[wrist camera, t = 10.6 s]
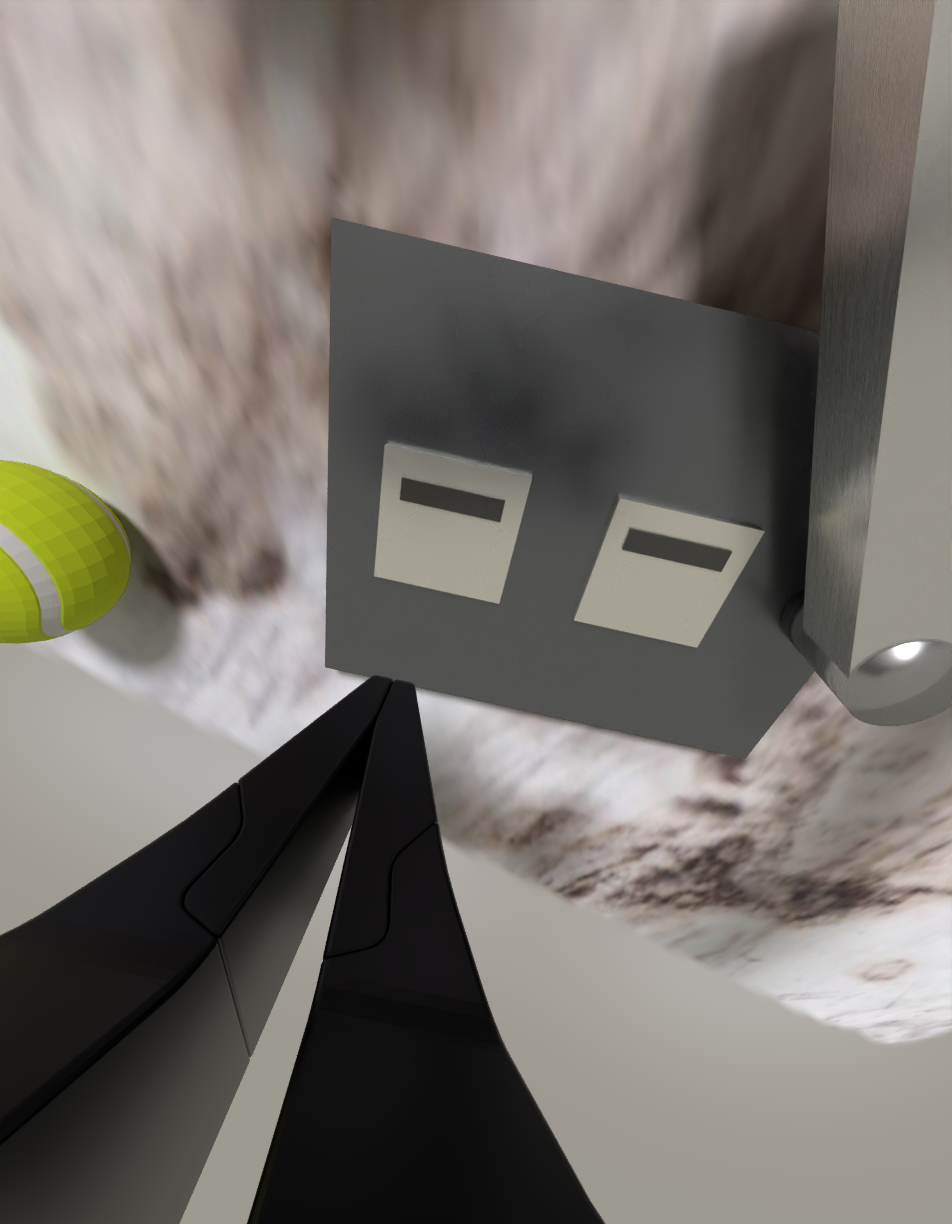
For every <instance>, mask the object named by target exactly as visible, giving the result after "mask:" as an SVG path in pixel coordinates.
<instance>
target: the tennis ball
mask: <svg viewBox="0 0 952 1224" xmlns="http://www.w3.org/2000/svg"><path fill="white" fill-rule="evenodd" d="M130 565H131V549H130V543H129V540H128V536H127V533H126V531H125V530H124V528H123V526H122V524H121V522H120V521H119V519H118V518H117V516H116V515H115V514H114V512H113V511H112V510H111V509H110V508H109V507H108V506H107V504H106V503H105V502H104V501H102V500H101V499H100V498H99V497H98V496H97V495H95V494H94V493H93V492H92V491H90V490H89V489H87V488H86V487H84V486H83V485H81V484H79V483H77V482H75V481H73V480H71V479H69V478H67V477H65V476H63V475H60V474H56V473H53V472H51V471H49V470H46V469H43V468H40V467H37V466H34V465H30V464H26V463H20V462H13V461H4V460H0V643H29V642H37V641H45V640H50V639H54V638H57V637H61V636H64V635H66V634H69V633H71V632H73V631H75V630H78V629H81V628H83V627H86V626H88V625H89V624H91V623H93V622H95V621H96V620H98V619H99V618H101V617H102V616H103V615H104V614H106V613H107V612H108V611H109V610H110V609H111V608H112V607H113V606H114V605H115V603H116V602H117V601H118V600H119V598H120V597H121V595H122V594H123V592H124V590H125V588H126V586H127V583H128V580H129V575H130Z"/></svg>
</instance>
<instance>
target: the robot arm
mask: <svg viewBox="0 0 952 1224" xmlns="http://www.w3.org/2000/svg"><path fill="white" fill-rule="evenodd" d="M238 783H239V784H238ZM238 783H233V784H232V785H231V786H230V787H228V788H227V789H226V790H225V791H223V792H222V793H221V794H219V795H218V796H217V797H216V798H214V799H213V800H211V801H210V802H209V803H207V804H206V805H205V806H203V807H202V808H201V809H199V810H198V811H196V812H195V813H194V814H193V815H191V816H190V817H188V818H187V819H186V820H185V821H183V822H181V823H180V824H178V825H177V826H175V827H174V828H172V829H171V830H169V831H168V832H166V833H165V834H163V835H162V836H160V837H159V838H157V839H156V840H155V841H153V842H152V843H150V844H149V845H147V846H145V847H144V848H142V849H141V850H139V851H138V852H136V853H135V854H133V855H132V856H130V857H128V858H127V859H125V860H124V861H122V862H121V863H119V864H118V865H116V866H115V867H113V868H111V869H110V870H108V871H107V872H105V873H104V874H102V875H101V876H99V877H98V878H96V879H94V880H93V881H91V882H90V883H88V884H87V885H85V886H84V887H82V888H81V889H79V890H77V891H76V892H74V893H73V894H71V895H70V896H68V897H67V898H65V899H64V900H62V901H60V902H59V903H57V904H56V905H54V906H53V907H51V908H50V909H48V910H46V911H44V912H43V913H41V914H40V915H38V916H36V917H35V918H33V919H31V920H29V921H28V922H25V923H23V924H22V925H20V926H18V927H16V928H14V929H12V930H10V931H8V932H6V933H4V934H2V935H0V1224H179V1223H180V1221H181V1219H182V1216H183V1214H184V1211H185V1209H186V1207H187V1205H188V1202H189V1200H190V1198H191V1195H192V1193H193V1191H194V1188H195V1186H196V1184H197V1181H198V1179H199V1177H200V1175H201V1172H202V1170H203V1168H204V1165H205V1163H206V1161H207V1158H208V1156H209V1154H210V1151H211V1149H212V1147H213V1145H214V1142H215V1140H216V1138H217V1135H218V1133H219V1131H220V1128H221V1126H222V1124H223V1122H224V1119H225V1116H226V1114H227V1112H228V1110H229V1107H230V1105H231V1103H232V1101H233V1098H234V1096H235V1094H236V1092H237V1089H238V1087H239V1085H240V1082H241V1080H242V1077H243V1075H244V1073H245V1071H246V1068H247V1066H248V1064H249V1061H250V1058H249V1057H251V1056H252V1054H253V1052H254V1050H255V1047H256V1045H257V1043H258V1040H259V1038H260V1036H261V1033H262V1031H263V1029H264V1026H265V1024H266V1022H267V1020H268V1017H269V1015H270V1012H271V1010H272V1008H273V1005H274V1003H275V1001H276V999H277V996H278V994H279V992H280V989H281V987H282V985H283V982H284V980H285V978H286V976H287V973H288V971H289V969H290V966H291V964H292V962H293V959H294V957H295V955H296V952H297V950H298V948H299V946H300V943H301V941H302V939H303V936H304V934H305V932H306V929H307V927H308V925H309V922H310V920H311V917H312V915H313V913H314V911H315V909H316V906H317V904H318V902H319V899H320V897H321V894H322V892H323V890H324V887H325V885H326V883H327V881H328V878H329V876H330V874H331V871H332V869H333V867H334V865H335V862H336V860H337V857H338V855H339V853H340V851H341V848H342V846H343V844H344V841H345V839H346V837H347V834H348V832H349V830H350V828H351V825H352V828H351V833H350V837H349V841H348V846H347V851H346V855H345V860H344V864H343V869H342V873H341V878H340V882H339V887H338V891H337V896H336V900H335V905H334V909H333V914H332V918H331V923H330V927H329V932H328V936H327V941H326V946H325V951H324V955H323V962H322V964H321V968H320V973H319V977H318V981H317V986H316V990H315V994H314V998H313V1002H312V1006H311V1010H310V1014H309V1017H308V1021H307V1024H306V1028H305V1032H304V1035H303V1038H302V1041H301V1044H300V1048H299V1051H298V1055H297V1058H296V1061H295V1065H294V1068H293V1071H292V1075H291V1078H290V1081H289V1085H288V1088H287V1092H286V1095H285V1098H284V1101H283V1105H282V1108H281V1111H280V1115H279V1118H278V1122H277V1125H276V1128H275V1132H274V1135H273V1138H272V1142H271V1145H270V1148H269V1152H268V1155H267V1159H266V1162H265V1165H264V1168H263V1172H262V1175H261V1179H260V1182H259V1185H258V1189H257V1192H256V1195H255V1199H254V1202H253V1205H252V1209H251V1212H250V1215H249V1219H248V1222H247V1224H605V1223H604V1221H603V1219H602V1218H601V1216H600V1215H599V1213H598V1212H597V1210H596V1209H595V1207H594V1206H593V1204H592V1203H591V1201H590V1199H589V1197H588V1195H587V1194H586V1192H585V1190H584V1188H583V1186H582V1185H581V1183H580V1181H579V1179H578V1177H577V1176H576V1174H575V1172H574V1170H573V1168H572V1166H571V1165H570V1163H569V1161H568V1159H567V1158H566V1156H565V1154H564V1152H563V1150H562V1149H561V1147H560V1145H559V1143H558V1141H557V1139H556V1138H555V1136H554V1134H553V1132H552V1130H551V1129H550V1127H549V1125H548V1123H547V1121H546V1120H545V1118H544V1116H543V1114H542V1112H541V1110H540V1109H539V1107H538V1105H537V1103H536V1101H535V1100H534V1098H533V1096H532V1094H531V1092H530V1091H529V1089H528V1087H527V1085H526V1083H525V1081H524V1080H523V1078H522V1076H521V1074H520V1072H519V1071H518V1069H517V1067H516V1065H515V1064H514V1062H513V1060H512V1058H511V1057H510V1054H509V1052H508V1051H507V1049H506V1047H505V1044H504V1042H503V1040H502V1038H501V1036H500V1033H499V1031H498V1028H497V1026H496V1023H495V1021H494V1018H493V1015H492V1013H491V1010H490V1007H489V1005H488V1001H487V998H486V996H485V993H484V990H483V986H482V983H481V980H480V977H479V974H478V970H477V967H476V964H475V961H474V958H473V954H472V951H471V948H470V945H469V942H468V938H467V935H466V932H465V929H464V926H463V923H462V919H461V916H460V913H459V910H458V906H457V903H456V899H455V896H454V892H453V888H452V885H451V881H450V877H449V874H448V870H447V865H446V860H445V855H444V850H443V846H442V840H441V834H440V828H439V824H438V823H437V822H438V818H437V812H436V806H435V801H434V795H433V789H432V783H431V777H430V772H429V766H428V760H427V754H426V748H425V743H424V737H423V731H422V725H421V719H420V714H419V708H418V702H417V696H416V690H415V685H414V684H413V683H412V682H408V681H403V680H398V679H396V680H395V681H393V679H392V678H389V677H384V676H379V675H373V676H372V677H370V678H369V679H368V680H366V681H365V682H364V683H362V684H361V685H360V686H359V687H357V688H356V689H355V690H353V691H352V692H351V693H350V694H348V695H347V696H346V697H344V698H343V699H342V700H341V701H339V702H338V703H337V704H335V705H334V706H333V707H332V708H330V709H329V710H328V711H326V712H325V713H324V714H323V715H321V716H320V717H319V718H317V719H316V720H315V721H314V722H312V723H311V724H310V725H308V726H307V727H306V728H305V729H303V730H302V731H301V732H299V733H298V734H297V735H296V736H294V737H293V738H292V739H290V740H289V741H288V742H287V743H285V744H284V745H283V746H281V747H280V748H279V749H278V750H276V751H275V752H274V753H272V754H271V755H270V756H269V757H267V758H266V759H265V760H263V761H262V762H261V763H260V764H258V765H257V766H256V767H254V768H253V769H252V770H250V771H249V772H248V773H247V774H245V775H244V776H243V777H241V778H240V779H239V781H238Z"/></svg>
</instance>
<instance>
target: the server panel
mask: <svg viewBox="0 0 952 1224" xmlns="http://www.w3.org/2000/svg"><path fill="white" fill-rule="evenodd" d="M819 339H820V332H817V331H813V330H809V329H805V328H800V327H796V326H792V325H788V324H783V323H779V322H775V321H771V320H766V319H762V318H758V317H753V316H749V315H745V314H741V313H736V312H732V311H728V310H724V309H719V308H715V307H711V306H707V305H702V304H698V303H694V302H689V301H685V300H681V299H677V298H672V297H668V296H664V295H660V294H655V293H651V292H647V291H643V290H638V289H634V288H630V287H626V286H621V285H617V284H613V283H608V282H604V281H600V280H596V279H591V278H587V277H583V276H579V275H574V274H570V273H566V272H562V271H557V270H553V269H549V268H544V267H540V266H536V265H532V264H527V263H523V262H519V261H515V260H510V259H506V258H502V257H498V256H493V255H489V254H485V253H480V252H476V251H472V250H468V249H463V248H459V247H455V246H451V245H446V244H442V243H438V242H434V241H429V240H425V239H421V238H416V237H412V236H408V235H404V234H399V233H395V232H391V231H387V230H382V229H378V228H374V227H370V226H365V225H361V224H357V223H352V222H348V221H344V220H340V219H335V218H332V227H331V296H330V366H329V435H328V504H327V573H326V642H325V667H326V668H331V669H335V670H340V671H345V672H349V673H354V674H358V675H363V676H368V677H372V676H373V675H379V676H384V677H389V678H392V679H393V681H395V680H396V679H398V680H403V681H408V682H412V683H413V684H414V685H415V687H418V688H423V689H427V690H432V691H437V692H441V693H446V694H450V695H455V696H460V697H464V698H469V699H473V700H478V701H482V702H487V703H492V704H496V705H501V706H505V707H510V708H515V709H519V710H524V711H528V712H533V713H538V714H542V715H547V716H551V717H556V718H561V719H565V720H570V721H574V722H579V723H584V724H588V725H593V726H597V727H602V728H607V729H611V730H616V731H620V732H625V733H630V734H634V735H639V736H643V737H648V738H652V739H657V740H662V741H666V742H671V743H675V744H680V745H685V746H689V747H694V748H698V749H703V750H708V751H712V752H717V753H721V754H726V755H731V756H735V757H740V758H744V759H745V758H746V757H747V756H748V755H749V753H750V752H751V751H752V749H753V748H754V747H755V746H756V744H757V743H758V742H759V741H760V739H761V738H762V737H763V736H764V734H765V733H766V732H767V730H768V729H769V728H770V727H771V725H772V724H773V723H774V722H775V720H776V719H777V718H778V717H779V715H780V714H781V713H782V711H783V710H784V709H785V708H786V706H787V705H788V704H789V703H790V701H791V700H792V699H793V698H794V696H795V695H796V694H797V692H798V691H799V690H800V689H801V687H802V686H803V685H804V684H805V682H806V681H807V680H808V679H809V677H810V676H811V675H812V673H813V672H814V671H815V670H814V669H813V668H812V667H811V666H810V664H809V663H808V662H807V661H806V660H805V659H804V657H803V656H802V654H801V652H800V649H799V637H800V634H801V631H802V629H803V613H804V596H805V579H806V562H807V545H808V528H809V511H810V494H811V476H812V459H813V442H814V425H815V408H816V391H817V374H818V357H819Z"/></svg>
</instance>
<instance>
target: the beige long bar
mask: <svg viewBox="0 0 952 1224" xmlns="http://www.w3.org/2000/svg"><path fill="white" fill-rule="evenodd" d="M799 649H800V652H801V654H802V656H803V657H804V659H805V660H806V661H807V662H808V663H809V664H810V666H811V667H812V668H813V669H814V670H815V672H816V673H817V674H818V675H819V676H820V678H821V679H822V680H823V681H824V682H825V683H826V685H827V686H828V687H829V688H830V689H831V691H832V692H833V693H834V694H835V695H836V697H837V698H838V699H839V700H840V701H841V702H842V704H843V705H844V706H845V707H846V708H847V710H848V711H849V712H850V713H851V714H852V715H853V716H854V717H855V718H857V719H858V720H860V721H862V722H865V723H868V724H872V725H878V726H898V725H905V724H910V723H914V722H918V721H921V720H924V719H927V718H929V717H932V716H934V715H936V714H938V713H940V712H942V711H944V710H945V709H947V708H948V707H950V706H951V705H952V0H839V14H838V31H837V48H836V65H835V83H834V100H833V117H832V134H831V151H830V168H829V185H828V202H827V220H826V237H825V254H824V271H823V288H822V305H821V322H820V339H819V357H818V374H817V391H816V408H815V425H814V442H813V459H812V476H811V494H810V511H809V528H808V545H807V562H806V579H805V596H804V613H803V629H802V631H801V634H800V637H799Z"/></svg>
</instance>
